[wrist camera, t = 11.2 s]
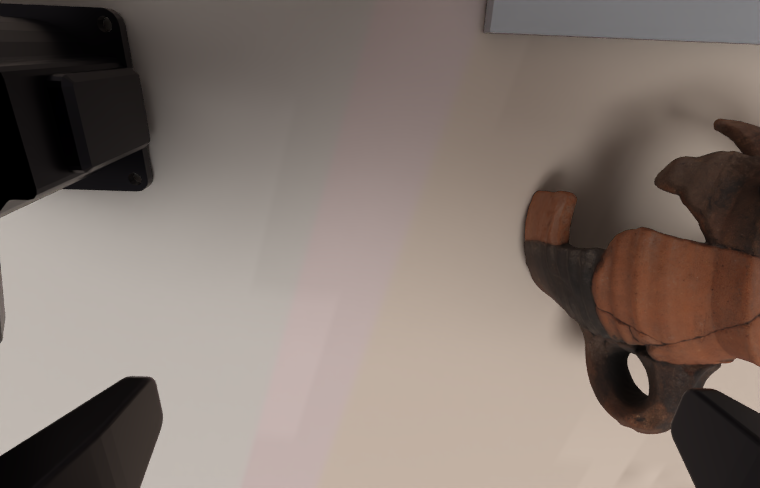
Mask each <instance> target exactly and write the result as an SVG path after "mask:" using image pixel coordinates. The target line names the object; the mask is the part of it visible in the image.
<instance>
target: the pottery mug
mask: <svg viewBox="0 0 760 488" xmlns="http://www.w3.org/2000/svg"><path fill="white" fill-rule="evenodd" d="M714 129H715V130H717V131H719V132H720V133H722V134H724V135H725V136H727V137H729V138H730V139H731V140H732V141H733V142H734V143H735V144H736V146H737V147H738V148H739V149H740V151H741V152H742V153H743V154H742V153H739V152H735V151H730V152H726V151H718V152H714V153H710V154H707V155H704V156H701V157H688V156H685V157H679V158H677V159H675V160H673V161H672V162H671V163H670V164H668V165H667V166H666V167H665V168H664V169H663V170H662V171H661V172H660V173H659V174H658V175H657V177H656V178H655V181H654V182H655V185H656V186H657V187H658V188H660V189H662V190H664V191H666V192H669V193H672V194H676V195H679V196H680V199H681V201H682V203H683V204H684V205H685V206H686V207H687V208H688V209H689V211H690V212H691V213H692V215H693V216H694V217H695V219H696V220H697V221H698V223H699V226H700V229H701V231H702V232H703V234H704V236H705V239H706V242H705V243H700V242H696V241H692V240H687V239H681V238H677V237H674V236H670V235H667V234H663V233H660V232H657V231H655V230H653V229H649V228H645V227H640V228H637V229H630V230H626V231H623V232H621V233H619V234H617V235H616V236H615V237H614V238H613V240H612V241H611V242H610V243H609V245H608V247H607V249H605V250H604V249H600V248H576V247H574V246H572V245H570V244H569V233H570V231H569V229H570V226H571V220H572V216H573V212H574V208H575V205H576V202H577V197H576V196H575V195H574V194H573V193H570V192H566V191H557V192H549V191H537V192H536V193H535V194H534V195H533V198H532V201H531V203H530V206H529V208H528V214H527V219H526V223H525V242H524V248H525V255H526V264H527V266H528V269H529V271H530V274H531V277H532V279H533V280H534V282H535V283H536V285H537V286H538V287H539V288H540V289H541V290H542V291H544V292H545V293H546V294H547V295H549V296H550V297H552V298H553V299H554V300H555V301H556V302H557V303H558V304H559V305H560V306H561V307H562V308H563V309H564V310H565V311H566V312H567V313H568V314H569V316H570V317H572V318H573V319H575V320H576V321H577V322H578V323H579V325H580V327H581V330H582V332H583V334H584V338H585V354H586V366H587V372H588V376H589V380H590V384H591V386H592V389H593V391H594V393H595V395H596V397H597V399H598V401H599V403H600V404H601V405H602V406H603V408H604V409H605V410H606V411H607V412H608V413H609V414H610V415H611V416H612V417H613V418H614V419H616V420H617V421H618V422H619V423H620V424H621V425H623V426H625V427H630V428H632V429H634V430H635V431H637V432H640V433H644V434H658V433H663V432H666V431H668V430H670V429H671V422H672V419H673V417H674V415H675V412H676V410H677V408H678V405H679V403H680V400H681V398H682V396H683V394H684V392H685V391H687V390H688V389H691V388H703V386H704V384H705V382H706V380H707V379H708V377H709V376H710V375H711V374H712V373H714V372H715V371H716V370H717V369H718V368H720V366H721V363H730V362H733V360H734V359H736V358H739V359H743V360H746V361H749V362H751V363H754V364H756V365H757V366H759V367H760V127H758V126H755V125H751V124H748V123H744V122H741V121H734V120H726V119H717V120H716V121H715V122H714ZM630 353H633V354H636V355H637V356H638V358H639V359H640V361H641V362H642V364H643V366H644V368H645V369H646V372H647V375H648V380H649V395H648V396H647V395H646V394H644V393H643V392H642V391H641V390H640V389H639V388H638V387H637V386H636V384H635V383H634V381H633V379H632V377H631V375H630V372H629V369H628V365H627V358H628V356H629V354H630Z"/></svg>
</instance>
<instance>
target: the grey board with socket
mask: <svg viewBox="0 0 760 488" xmlns="http://www.w3.org/2000/svg"><path fill="white" fill-rule="evenodd" d="M484 33H499V34H522V35H545V36H569V37H592V38H616V39H639V40H663V41H686V42H709V43H733V44H756V45H760V0H487V8H486V16H485V24H484Z"/></svg>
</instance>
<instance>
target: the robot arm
mask: <svg viewBox="0 0 760 488" xmlns="http://www.w3.org/2000/svg"><path fill="white" fill-rule="evenodd" d="M106 17H107V18H108V19H109V20H110V21H111V23H112V29H111V31H110V32H108V31H107V30H106V29H105V27H104V25H103V20H104V19H105V18H106ZM149 142H150V135H149V129H148V124H147V118H146V112H145V107H144V101H143V95H142V89H141V84H140V78H139V75H138V74H137V73H136V72H135V70H134V69H133V66H132V61H131V55H130V49H129V44H128V38H127V33H126V27H125V23H124V21H123V19H122V17H121V16H120V15H119V14H118V13H117V12H116V11H114V10H111V9H106V8H93V7H70V6H47V5H24V4H1V3H0V218H1V217H3V216H5V215H7V214H9V213H11V212H13V211H15V210H18V209H20V208H22V207H24V206H26V205H28V204H30V203H33V202H35V201H37V200H39V199H41V198H43V197H45V196H47V195H50V194H52V193H54V192H56V191H58V190H60V189H81V190H112V191H142V190H144V189H145V188H147V187H148V186H150V185H151V183H152V172H151V166H150V161H149V155H148V150H147V145H148V143H149ZM134 173H136V174H138V175H139V176H140V177H141V179H142V181H141V182H137V181H136V180H135V179H134V177H133V174H134ZM4 323H5V308H4V298H3V287H2V276H1V265H0V343H1V341H2V339H3V331H4ZM162 421H163V413H162V408H161V403H160V399H159V394H158V390H157V385H156V382H155V380H154V379H153V378H151V377H143V376H130V377H125V378H123V379H122V380H120V381H118V382H117V383H115V384H114V385H112V386H110V387H109V388H107V389H106V390H104V391H103V392H101V393H99V394H98V395H96V396H95V397H93V398H91V399H90V400H88V401H87V402H85V403H84V404H82V405H80V406H79V407H77V408H76V409H74V410H72V411H71V412H69V413H68V414H66V415H65V416H63V417H61V418H60V419H58V420H57V421H55V422H53V423H52V424H50V425H49V426H47V427H46V428H44V429H42V430H41V431H39V432H38V433H36V434H34V435H33V436H31V437H30V438H28V439H27V440H25V441H23V442H22V443H20V444H19V445H17V446H15V447H14V448H12V449H11V450H9V451H8V452H6V453H4V454H3V455H1V456H0V488H140V486H141V484H142V481H143V478H144V475H145V472H146V469H147V467H148V464H149V461H150V458H151V455H152V453H153V450H154V447H155V444H156V441H157V439H158V436H159V433H160V430H161V427H162ZM671 434H672V437H673V440H674V442H675V444H676V446H677V449H678V451H679V453H680V455H681V457H682V459H683V461H684V464H685V466H686V468H687V470H688V472H689V474H690V476H691V479H692V481H693V483H694V485H695V487H696V488H760V413H758V412H756V411H754V410H752V409H750V408H749V407H747V406H745V405H743V404H741V403H739V402H738V401H736V400H734V399H732V398H730V397H728V396H727V395H725V394H723V393H721V392H719V391H717V390H714V389H706V388H691V389H688V390H687V391H685V392H684V394H683V396H682V398H681V400H680V403H679V405H678V408H677V410H676V412H675V415H674V417H673V419H672V422H671Z"/></svg>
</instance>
